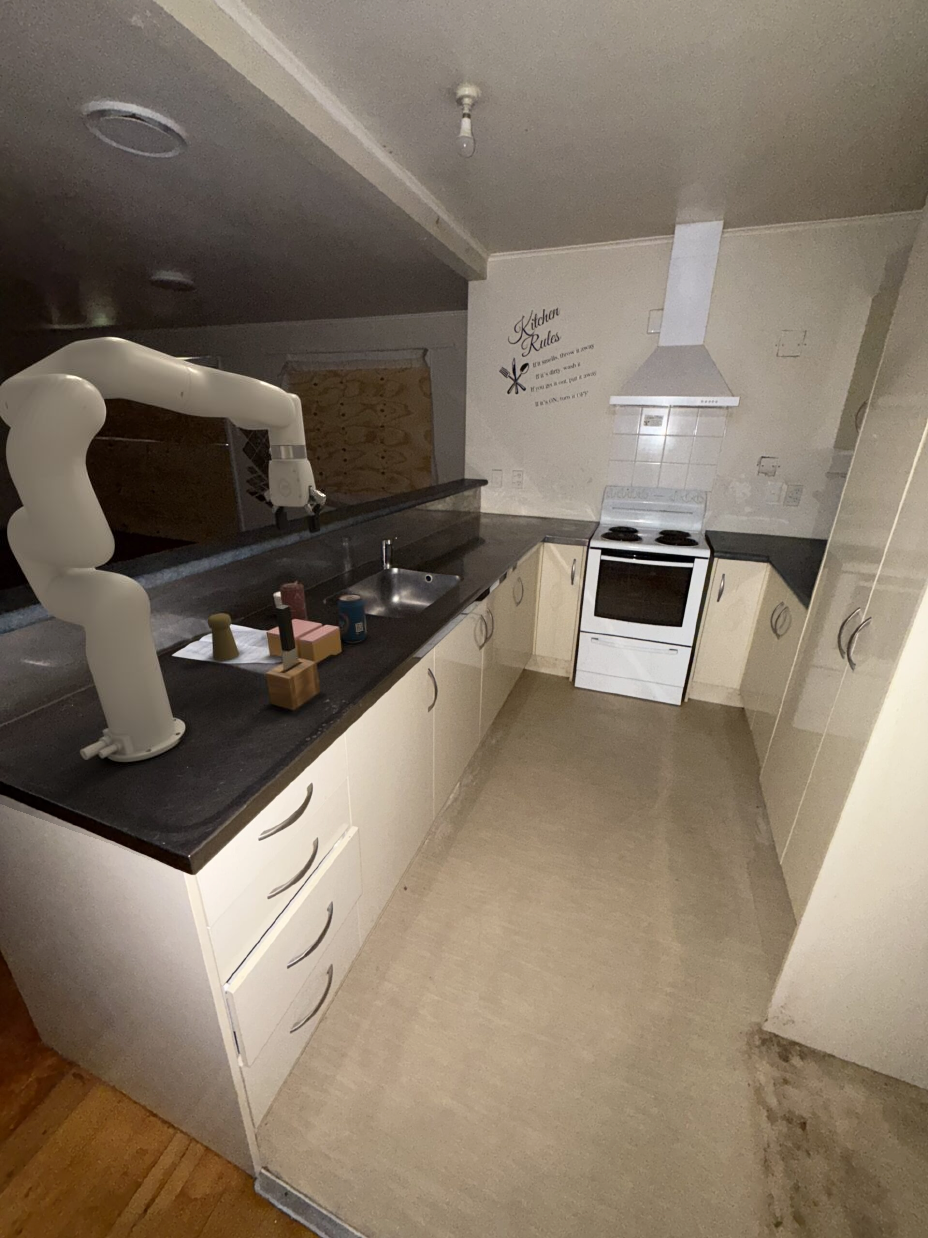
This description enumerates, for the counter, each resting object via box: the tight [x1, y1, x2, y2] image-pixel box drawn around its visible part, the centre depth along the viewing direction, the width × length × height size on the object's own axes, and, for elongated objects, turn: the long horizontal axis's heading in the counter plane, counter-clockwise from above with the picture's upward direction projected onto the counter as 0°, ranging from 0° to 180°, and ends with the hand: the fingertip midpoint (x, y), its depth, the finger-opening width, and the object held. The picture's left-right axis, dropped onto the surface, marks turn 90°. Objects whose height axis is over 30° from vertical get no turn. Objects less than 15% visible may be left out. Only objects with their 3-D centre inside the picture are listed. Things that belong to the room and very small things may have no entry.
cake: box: [265, 619, 323, 659], centre depth 122 cm, size 10×9×7 cm
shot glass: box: [272, 591, 282, 608], centre depth 148 cm, size 7×7×7 cm
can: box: [279, 580, 309, 621], centre depth 134 cm, size 6×6×14 cm
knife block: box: [265, 658, 321, 711], centre depth 100 cm, size 8×6×8 cm
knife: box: [275, 605, 299, 673], centre depth 97 cm, size 4×2×20 cm, turn 156°
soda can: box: [337, 593, 368, 644], centre depth 129 cm, size 7×7×12 cm
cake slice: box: [299, 624, 342, 664], centre depth 119 cm, size 10×4×7 cm, turn 155°
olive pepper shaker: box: [207, 612, 240, 662], centre depth 120 cm, size 6×6×11 cm
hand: (298, 530), depth 114 cm, fingers open, 9 cm apart
